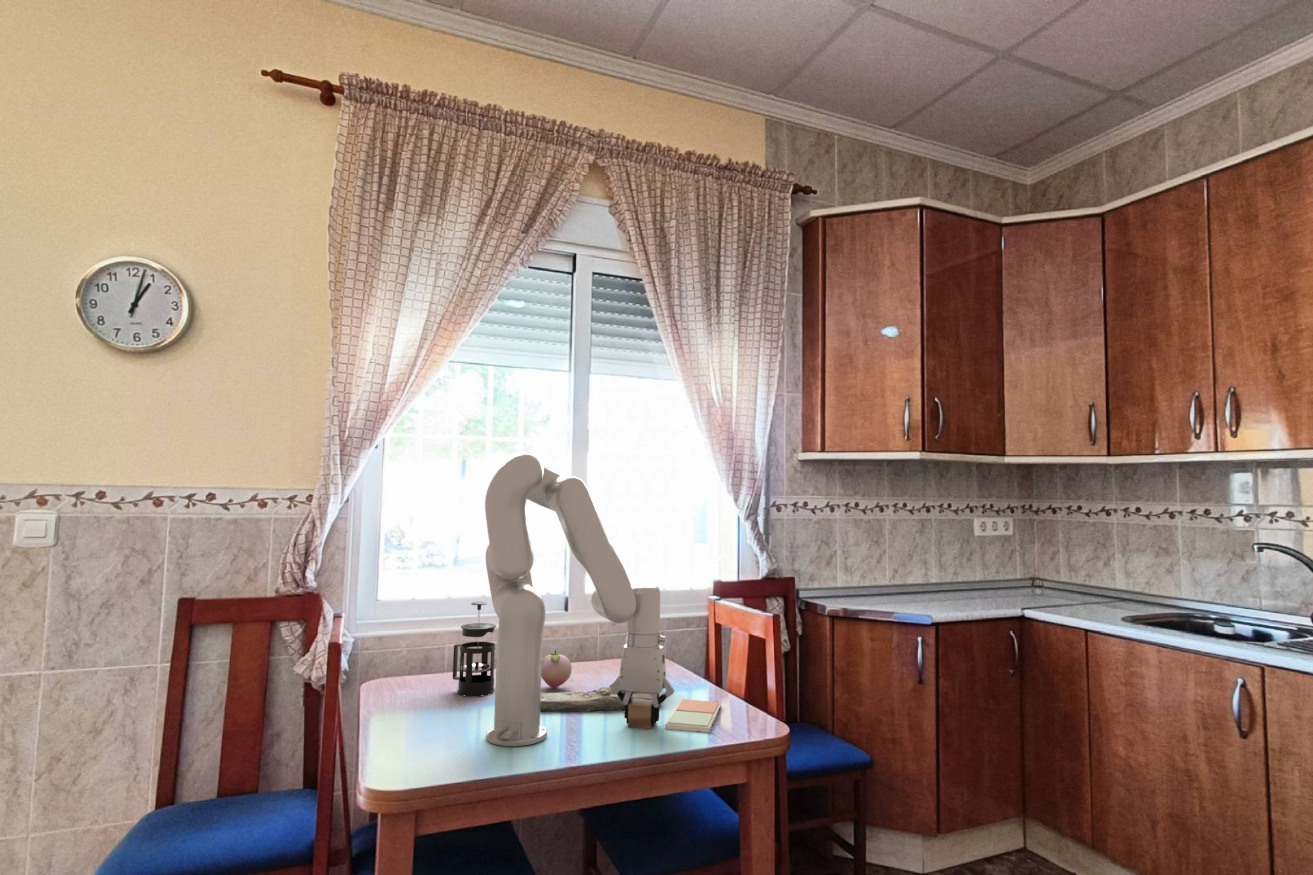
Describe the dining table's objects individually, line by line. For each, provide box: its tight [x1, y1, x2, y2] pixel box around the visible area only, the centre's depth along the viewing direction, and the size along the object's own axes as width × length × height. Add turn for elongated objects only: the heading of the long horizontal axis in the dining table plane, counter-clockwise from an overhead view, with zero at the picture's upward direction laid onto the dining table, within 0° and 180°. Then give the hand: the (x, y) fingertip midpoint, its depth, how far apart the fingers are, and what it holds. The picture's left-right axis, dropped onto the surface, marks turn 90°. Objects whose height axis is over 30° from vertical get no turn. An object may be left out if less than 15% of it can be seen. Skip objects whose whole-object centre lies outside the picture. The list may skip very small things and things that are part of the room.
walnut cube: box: [627, 699, 653, 731], centre depth 160 cm, size 5×5×5 cm
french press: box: [452, 601, 497, 697], centre depth 186 cm, size 12×9×23 cm
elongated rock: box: [540, 683, 662, 713], centre depth 174 cm, size 35×5×10 cm
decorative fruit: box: [541, 650, 573, 690], centre depth 190 cm, size 9×8×10 cm
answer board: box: [664, 698, 722, 733], centre depth 166 cm, size 20×10×1 cm, turn 167°
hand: (641, 721), depth 160 cm, fingers closed on walnut cube, 5 cm apart
